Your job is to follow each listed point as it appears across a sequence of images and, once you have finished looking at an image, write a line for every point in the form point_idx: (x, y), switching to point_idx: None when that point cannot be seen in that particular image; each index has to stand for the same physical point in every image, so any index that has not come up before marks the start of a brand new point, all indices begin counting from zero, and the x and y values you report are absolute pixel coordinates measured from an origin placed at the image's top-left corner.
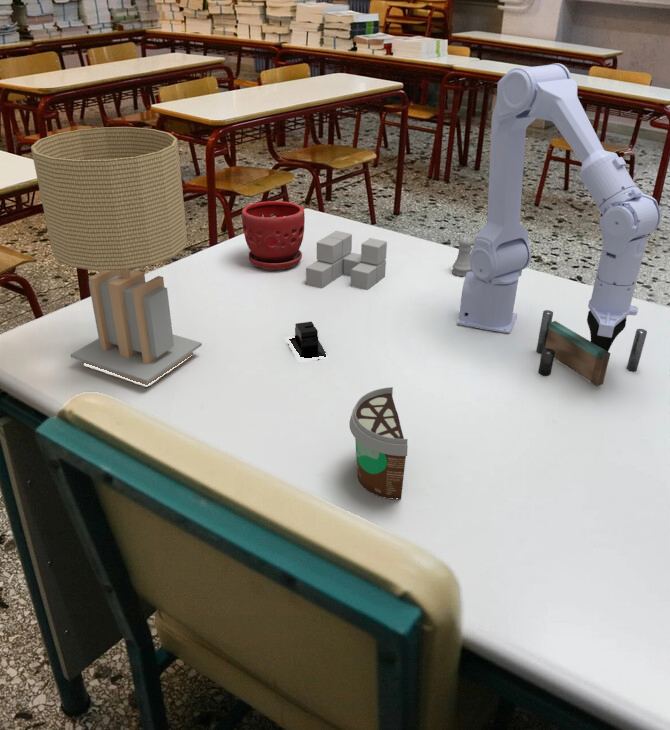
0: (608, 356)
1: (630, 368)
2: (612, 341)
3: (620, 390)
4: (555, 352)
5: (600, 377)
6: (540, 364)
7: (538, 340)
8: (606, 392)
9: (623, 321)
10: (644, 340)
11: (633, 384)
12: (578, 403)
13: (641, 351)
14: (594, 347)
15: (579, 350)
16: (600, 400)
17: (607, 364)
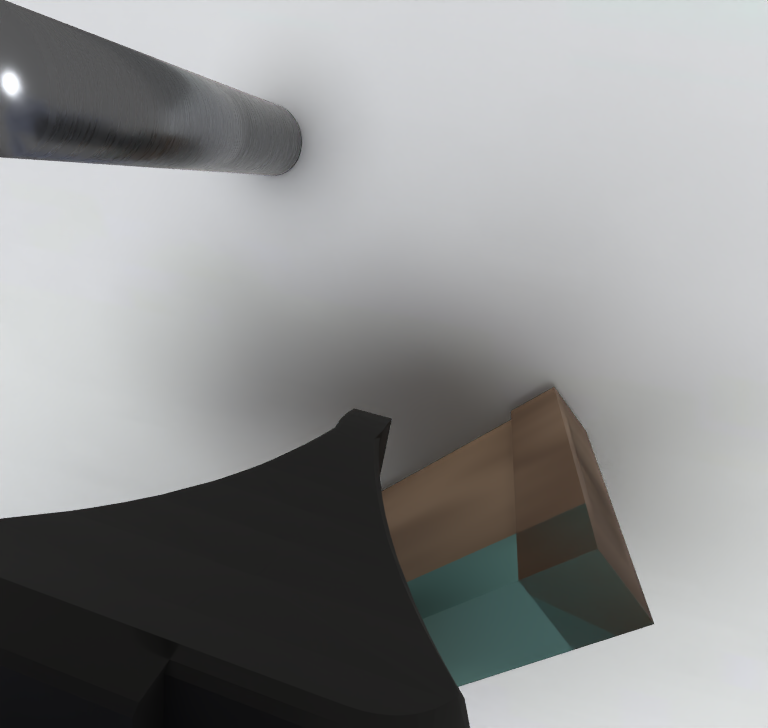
0: (599, 537)
1: (291, 156)
2: (385, 516)
3: (566, 265)
4: None
5: (587, 449)
6: None
7: None
8: (599, 358)
9: (158, 705)
10: (105, 42)
11: (473, 160)
12: (740, 536)
13: (197, 77)
14: (482, 650)
15: None
16: (704, 413)
17: (578, 471)
